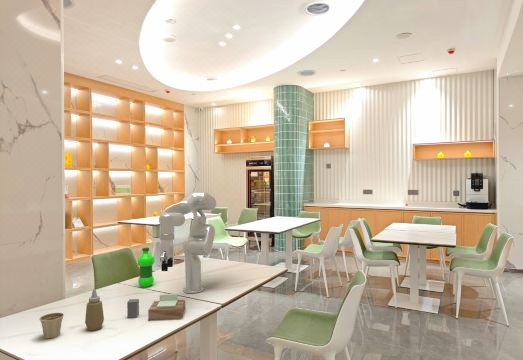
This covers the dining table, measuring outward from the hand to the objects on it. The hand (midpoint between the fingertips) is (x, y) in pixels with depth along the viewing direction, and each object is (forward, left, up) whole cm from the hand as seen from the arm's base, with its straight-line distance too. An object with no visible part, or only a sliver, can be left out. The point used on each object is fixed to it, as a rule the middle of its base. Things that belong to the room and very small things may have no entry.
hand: (167, 268), depth 189 cm
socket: (+10, +2, -21) cm, 23 cm away
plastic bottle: (-43, -21, -21) cm, 53 cm away
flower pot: (+29, -45, -21) cm, 58 cm away
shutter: (+10, +2, -16) cm, 19 cm away
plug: (+10, -15, -21) cm, 28 cm away
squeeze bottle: (+23, -29, -21) cm, 43 cm away
